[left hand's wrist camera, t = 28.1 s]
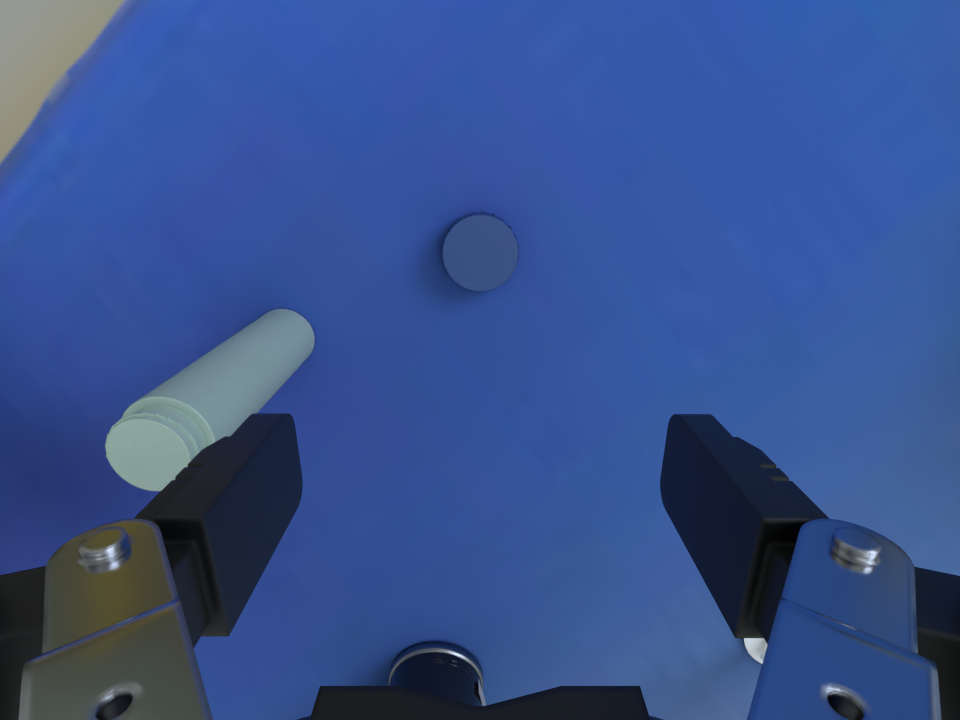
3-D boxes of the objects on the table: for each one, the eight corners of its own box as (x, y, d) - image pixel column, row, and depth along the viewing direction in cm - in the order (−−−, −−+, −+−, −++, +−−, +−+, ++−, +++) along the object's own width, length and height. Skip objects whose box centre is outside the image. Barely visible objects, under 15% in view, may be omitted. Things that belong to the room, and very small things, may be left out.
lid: (434, 275, 38) (432, 280, 37) (454, 202, 37) (452, 203, 35) (504, 295, 39) (505, 301, 37) (527, 224, 37) (529, 226, 35)
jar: (306, 304, 39) (179, 405, 23) (321, 360, 41) (211, 492, 24) (248, 312, 39) (80, 417, 23) (265, 367, 41) (118, 503, 24)
